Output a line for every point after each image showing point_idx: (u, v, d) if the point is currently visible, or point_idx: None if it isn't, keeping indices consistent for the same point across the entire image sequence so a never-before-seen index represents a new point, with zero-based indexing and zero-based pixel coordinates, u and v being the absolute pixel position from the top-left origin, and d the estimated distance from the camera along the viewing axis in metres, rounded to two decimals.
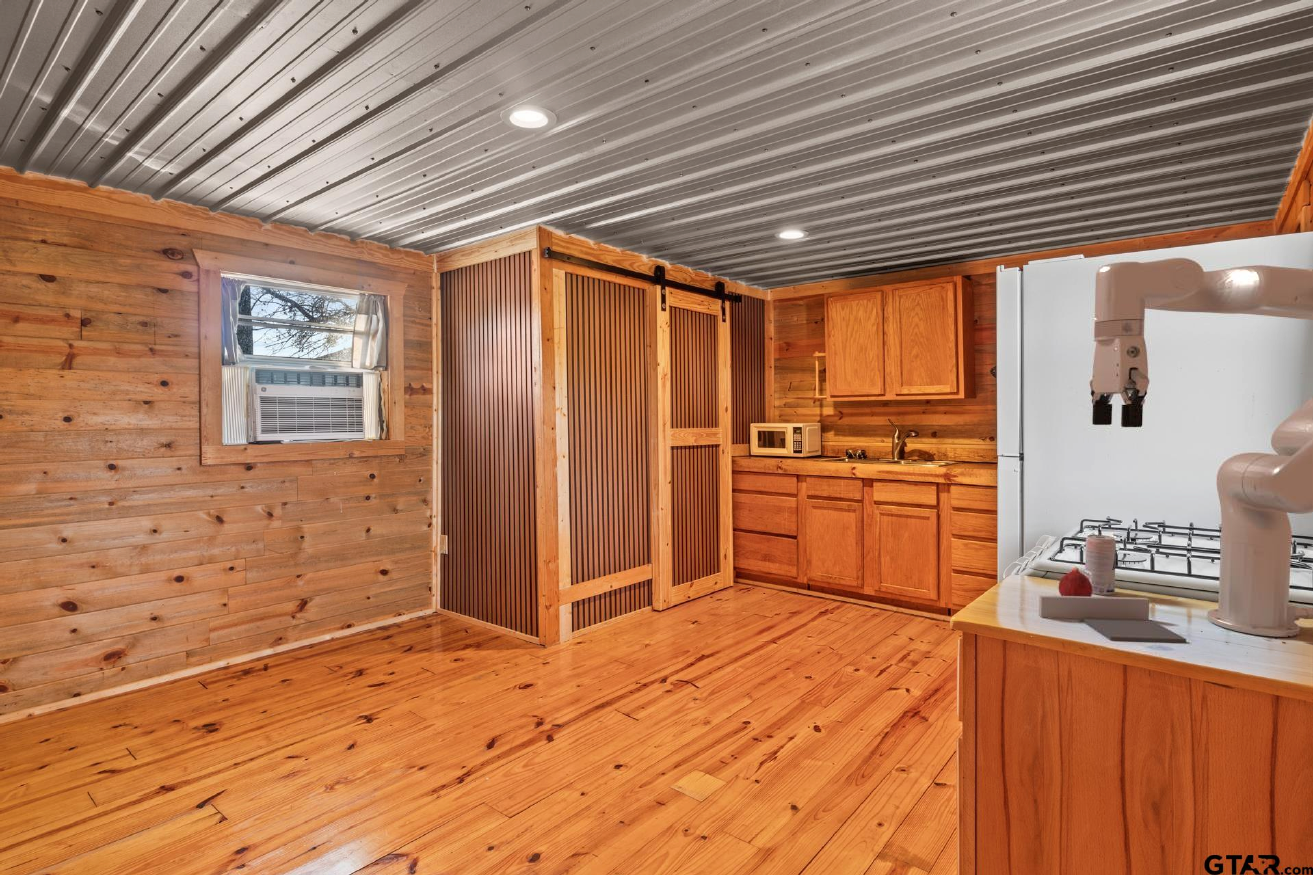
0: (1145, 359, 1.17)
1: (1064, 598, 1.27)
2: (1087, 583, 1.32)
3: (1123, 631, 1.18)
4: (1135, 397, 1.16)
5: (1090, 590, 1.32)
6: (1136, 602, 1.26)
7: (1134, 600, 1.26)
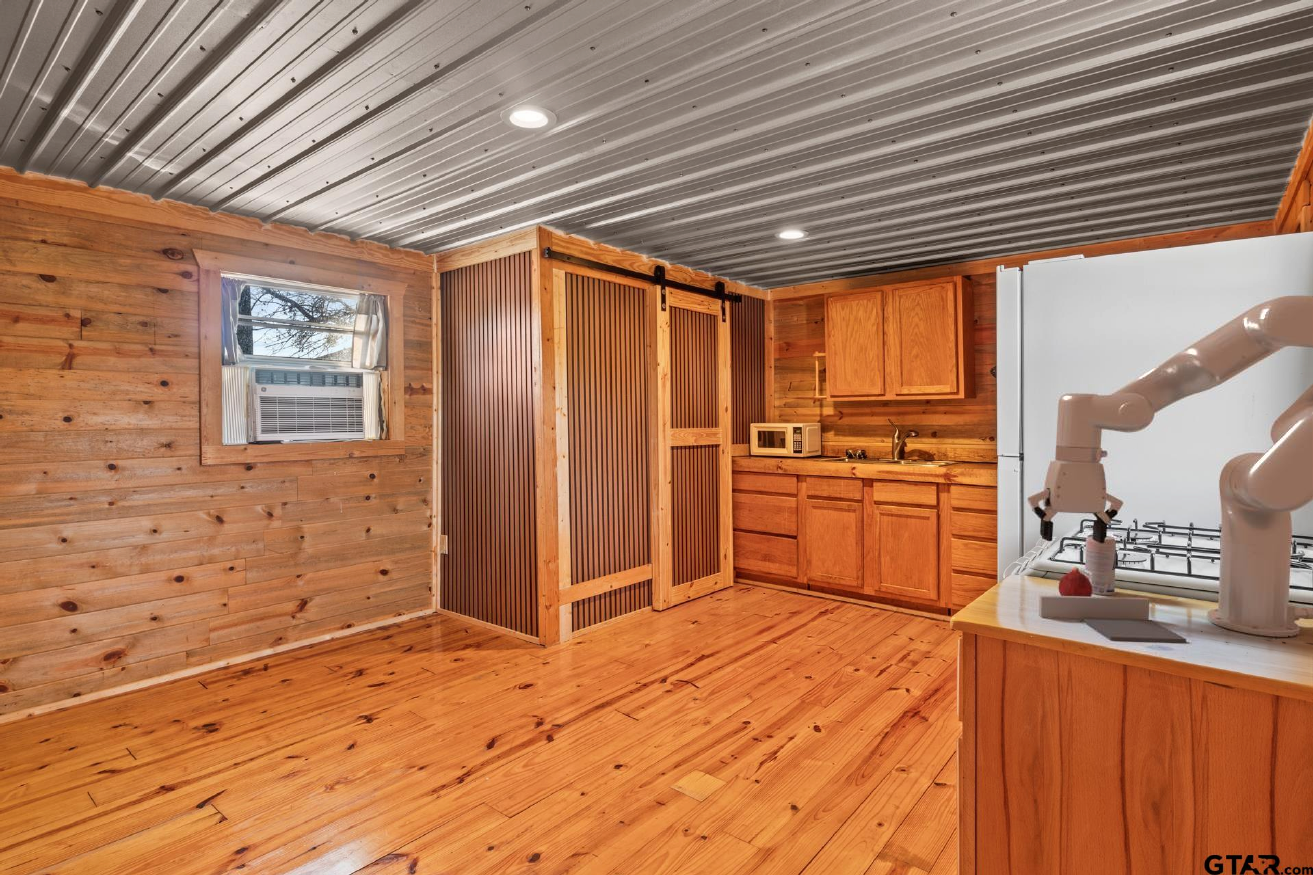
0: None
1: (1064, 598, 1.27)
2: (1087, 583, 1.32)
3: (1123, 631, 1.18)
4: (1113, 516, 1.32)
5: (1090, 590, 1.32)
6: (1136, 602, 1.26)
7: (1134, 600, 1.26)
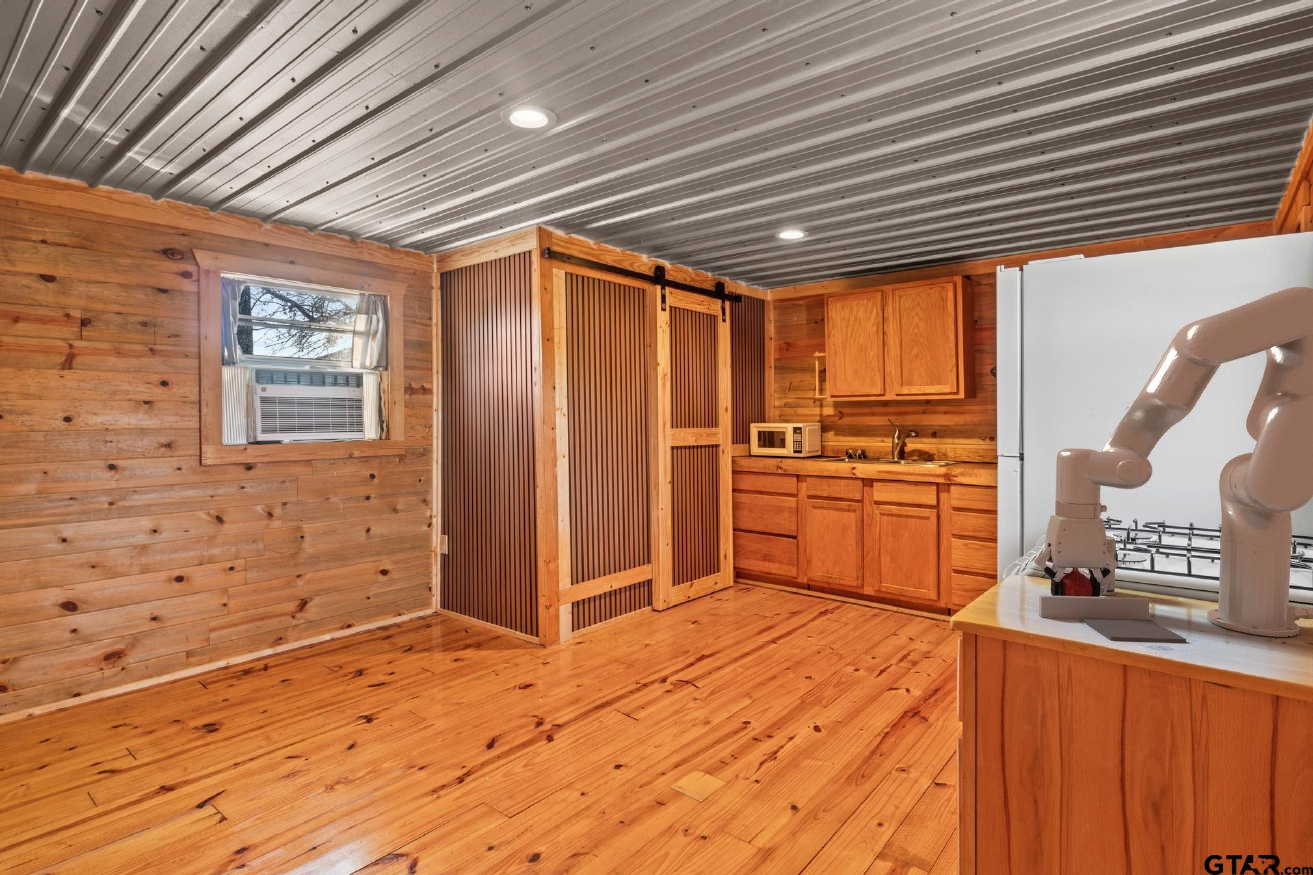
0: None
1: (1064, 598, 1.27)
2: (1087, 583, 1.32)
3: (1123, 631, 1.18)
4: (1106, 575, 1.33)
5: (1090, 590, 1.32)
6: (1136, 602, 1.26)
7: (1134, 600, 1.26)
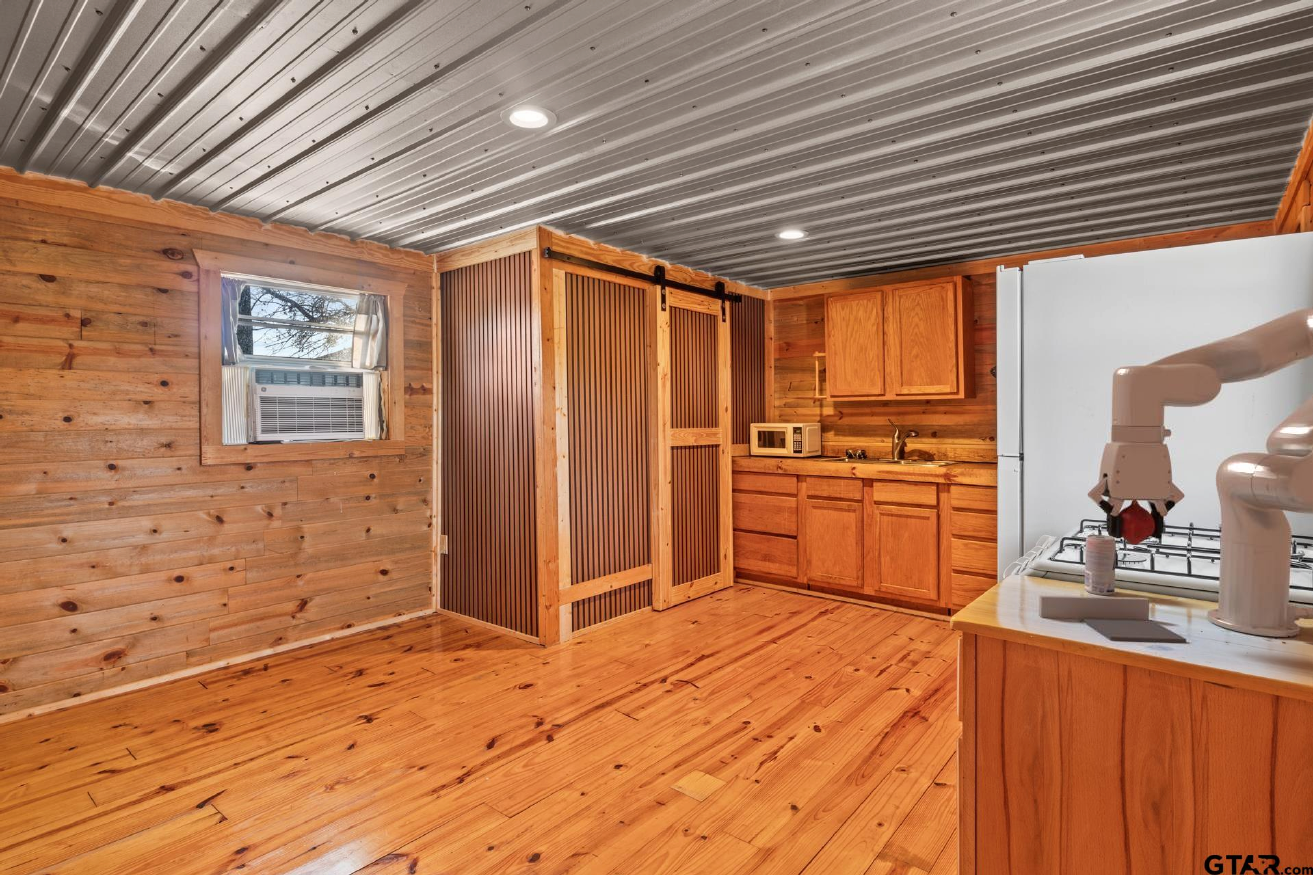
0: None
1: (1064, 598, 1.27)
2: (1149, 517, 1.17)
3: (1123, 631, 1.18)
4: None
5: (1153, 525, 1.17)
6: (1136, 602, 1.26)
7: (1134, 600, 1.26)
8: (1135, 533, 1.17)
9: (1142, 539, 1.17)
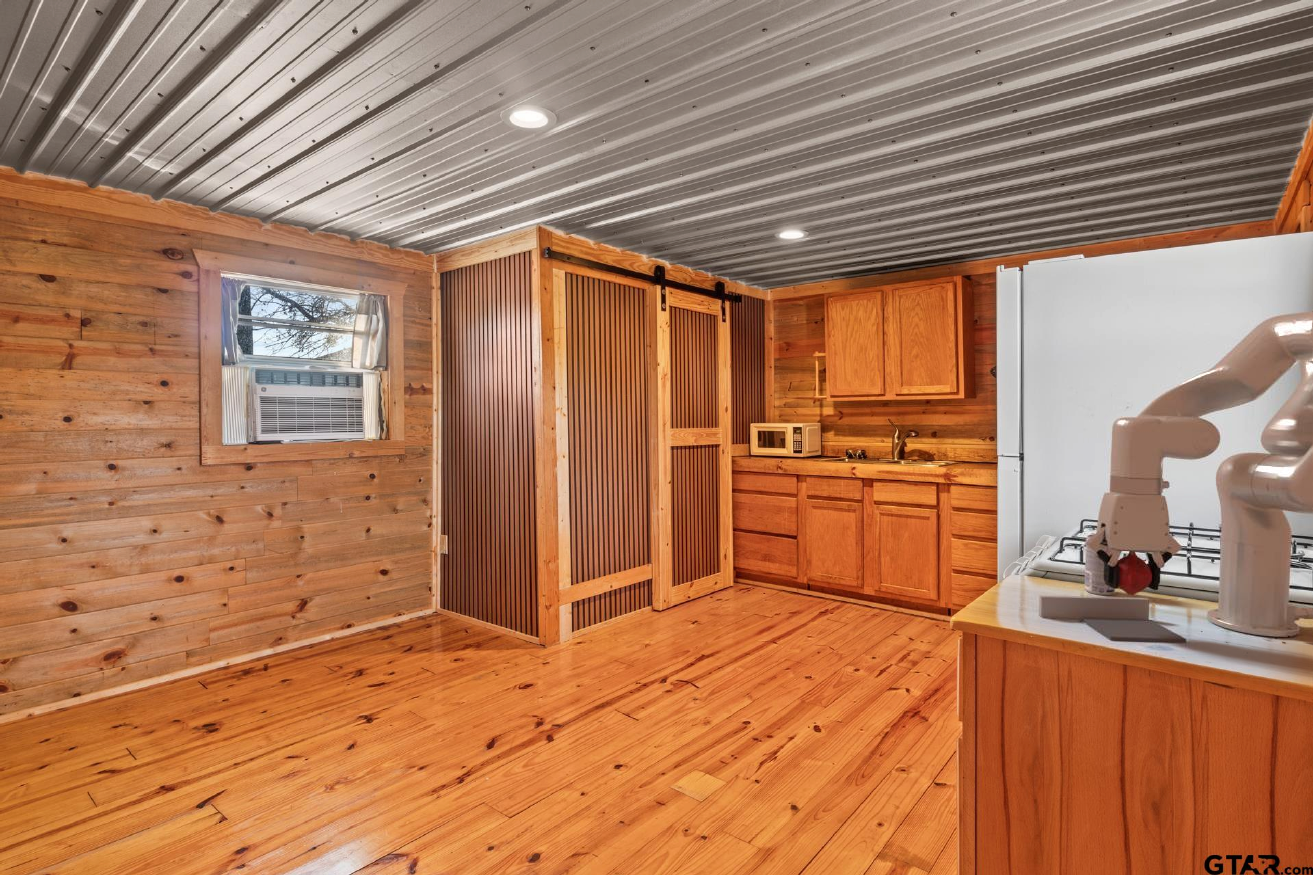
0: None
1: (1064, 598, 1.27)
2: (1146, 568, 1.17)
3: (1123, 631, 1.18)
4: (1167, 560, 1.18)
5: (1149, 576, 1.17)
6: (1136, 602, 1.26)
7: (1134, 600, 1.26)
8: (1132, 584, 1.17)
9: (1139, 590, 1.18)
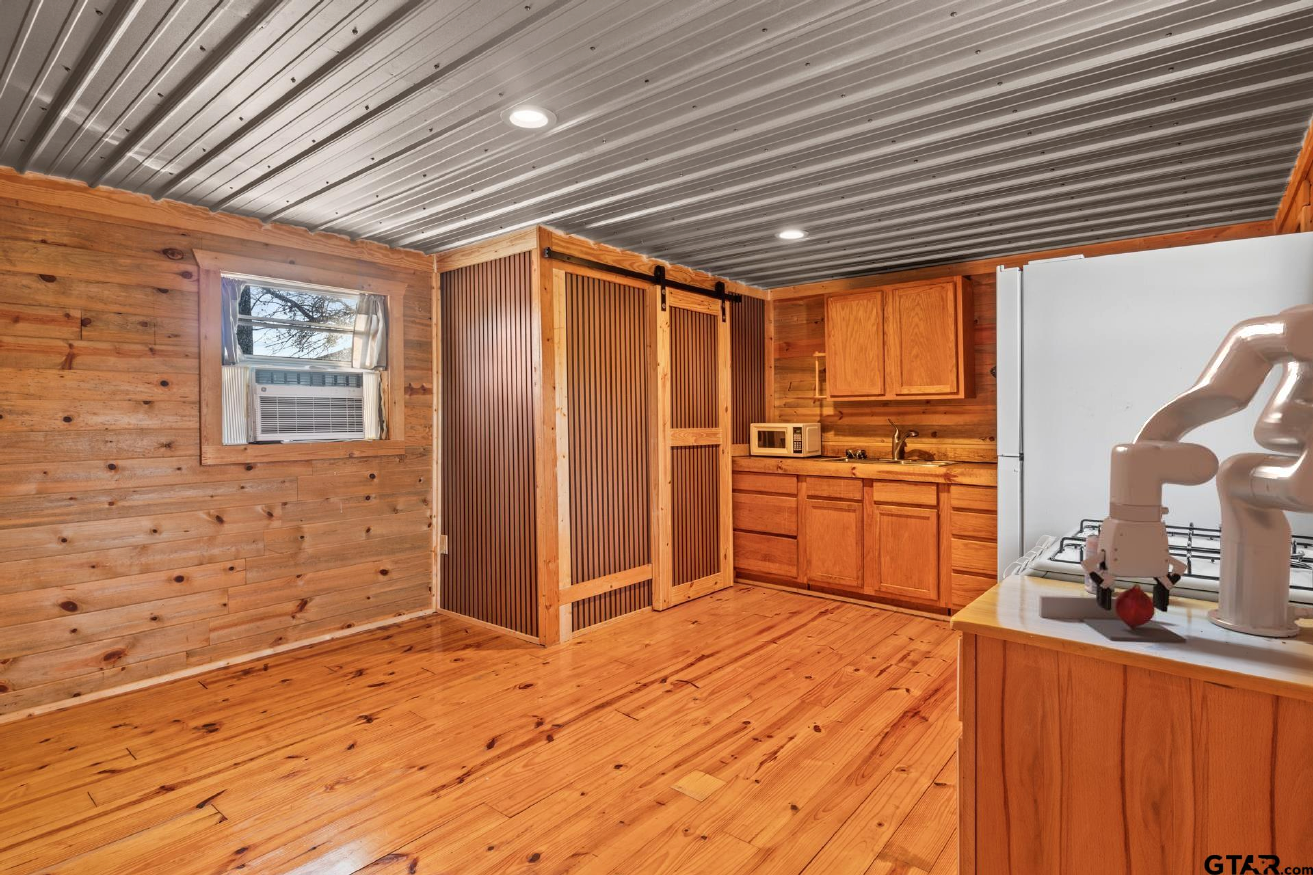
0: None
1: (1064, 598, 1.27)
2: (1149, 603, 1.17)
3: (1123, 631, 1.18)
4: (1176, 581, 1.18)
5: (1152, 611, 1.17)
6: None
7: None
8: (1134, 618, 1.17)
9: (1140, 624, 1.18)
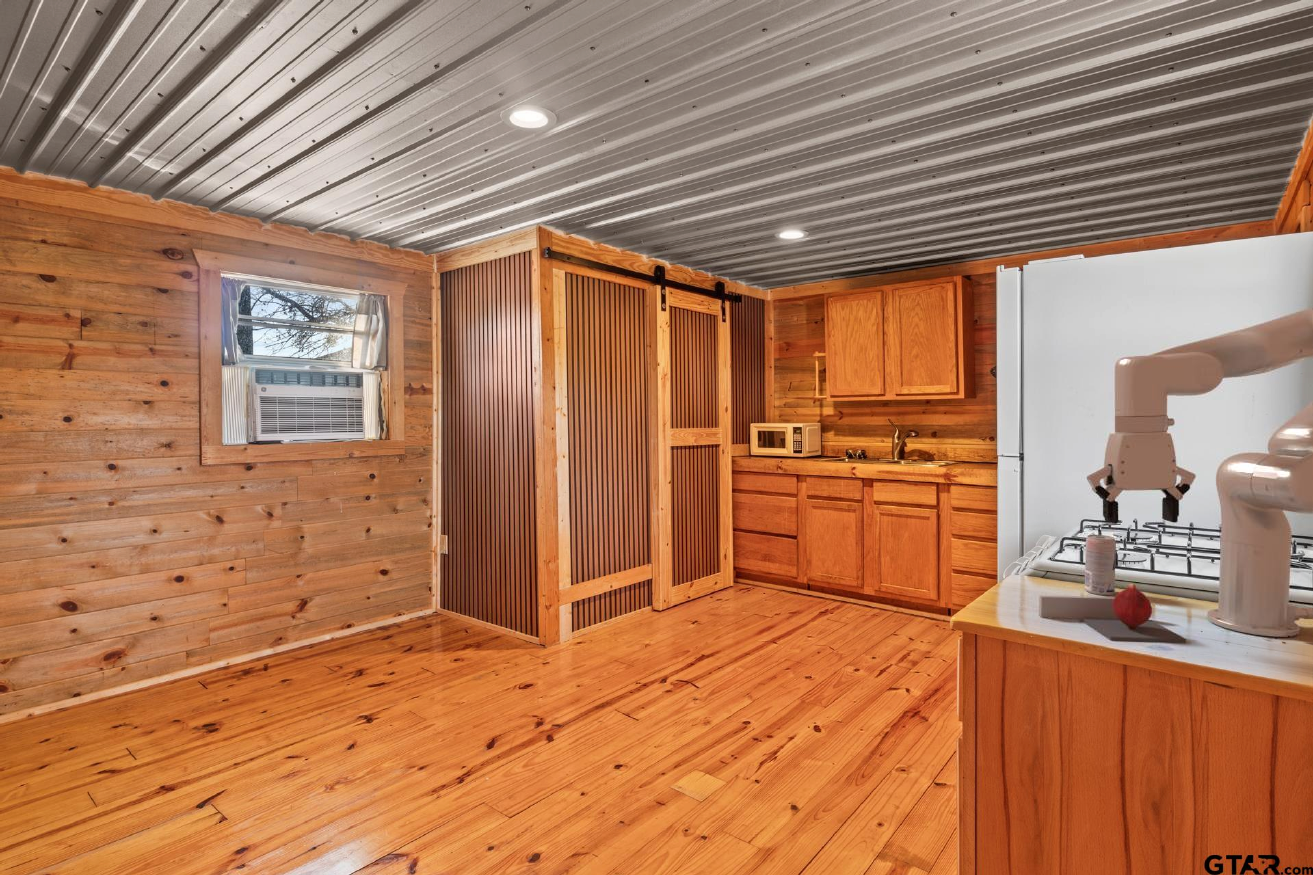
0: None
1: (1064, 598, 1.27)
2: (1146, 602, 1.18)
3: (1123, 631, 1.18)
4: (1185, 492, 1.18)
5: (1150, 610, 1.17)
6: None
7: None
8: (1132, 618, 1.18)
9: (1139, 623, 1.18)
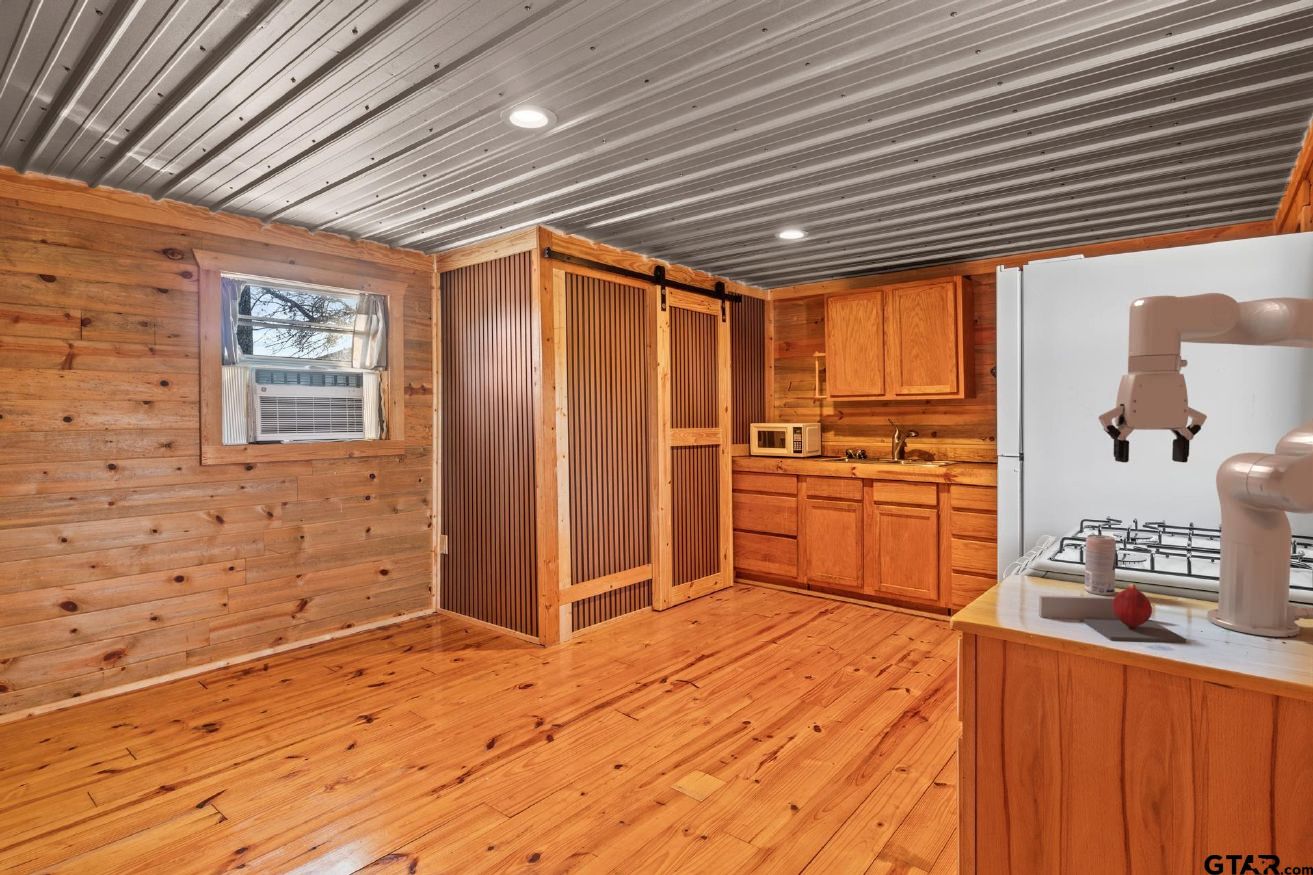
0: None
1: (1064, 598, 1.27)
2: (1146, 602, 1.18)
3: (1123, 631, 1.18)
4: (1196, 432, 1.19)
5: (1150, 610, 1.17)
6: None
7: None
8: (1132, 618, 1.18)
9: (1139, 623, 1.18)
